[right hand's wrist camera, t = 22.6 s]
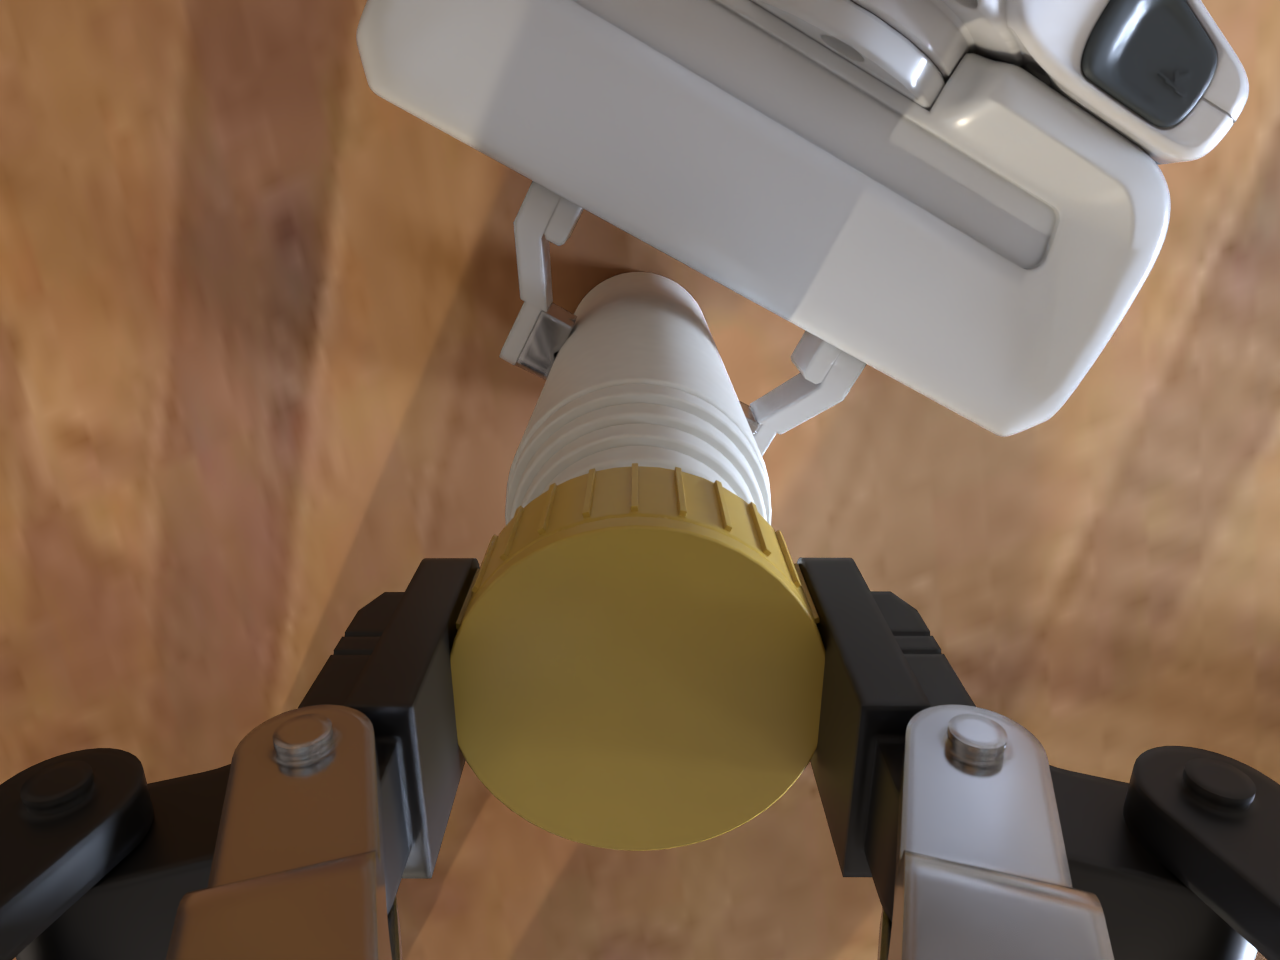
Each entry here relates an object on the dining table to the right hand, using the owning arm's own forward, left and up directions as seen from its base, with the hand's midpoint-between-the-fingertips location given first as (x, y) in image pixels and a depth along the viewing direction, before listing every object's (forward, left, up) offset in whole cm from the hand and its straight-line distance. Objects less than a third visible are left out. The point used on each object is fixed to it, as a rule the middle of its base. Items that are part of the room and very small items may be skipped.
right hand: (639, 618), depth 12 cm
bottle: (0, 0, -19) cm, 19 cm away
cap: (0, 0, +2) cm, 2 cm away
